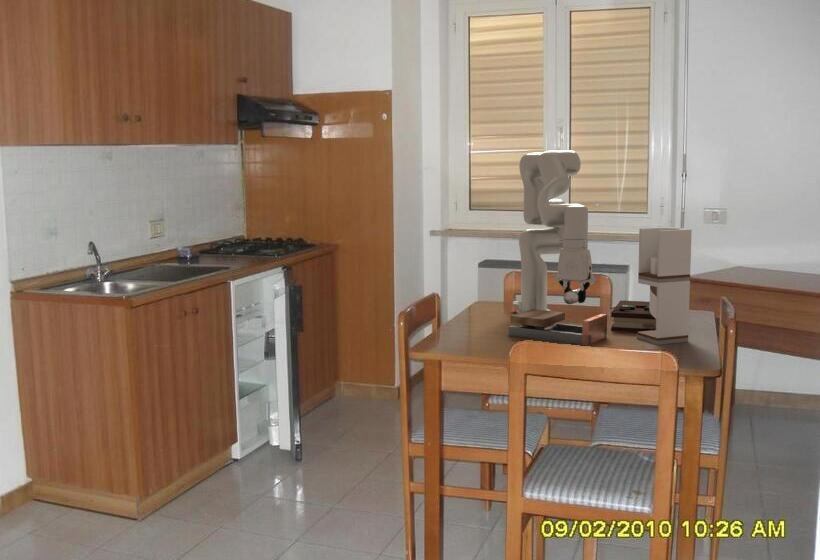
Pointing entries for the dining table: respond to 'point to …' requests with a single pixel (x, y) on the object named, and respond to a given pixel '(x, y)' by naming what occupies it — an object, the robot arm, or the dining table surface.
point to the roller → (571, 296)
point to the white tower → (666, 281)
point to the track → (566, 331)
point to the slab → (537, 317)
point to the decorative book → (632, 317)
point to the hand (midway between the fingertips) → (574, 301)
